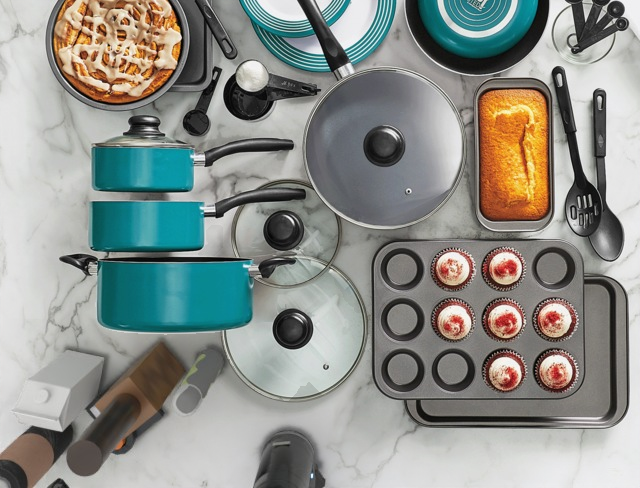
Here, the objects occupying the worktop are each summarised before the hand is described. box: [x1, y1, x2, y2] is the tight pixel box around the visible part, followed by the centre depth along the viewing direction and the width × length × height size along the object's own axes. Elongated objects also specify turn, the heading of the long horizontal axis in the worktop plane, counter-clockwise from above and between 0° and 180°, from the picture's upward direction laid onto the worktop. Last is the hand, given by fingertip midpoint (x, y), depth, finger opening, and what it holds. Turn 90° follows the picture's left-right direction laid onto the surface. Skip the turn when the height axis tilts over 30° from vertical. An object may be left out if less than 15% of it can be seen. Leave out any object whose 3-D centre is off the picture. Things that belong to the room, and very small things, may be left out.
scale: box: [84, 380, 165, 456], centre depth 121 cm, size 11×11×3 cm
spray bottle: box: [171, 348, 225, 418], centre depth 112 cm, size 5×5×20 cm
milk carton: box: [10, 349, 106, 432], centre depth 113 cm, size 7×7×19 cm
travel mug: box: [0, 423, 74, 488], centre depth 113 cm, size 8×8×20 cm
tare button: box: [115, 438, 126, 450], centre depth 119 cm, size 2×2×2 cm
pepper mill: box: [65, 393, 141, 478], centre depth 96 cm, size 5×5×16 cm
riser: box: [94, 341, 187, 440], centre depth 113 cm, size 7×7×18 cm
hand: (60, 487), depth 81 cm, fingers closed
